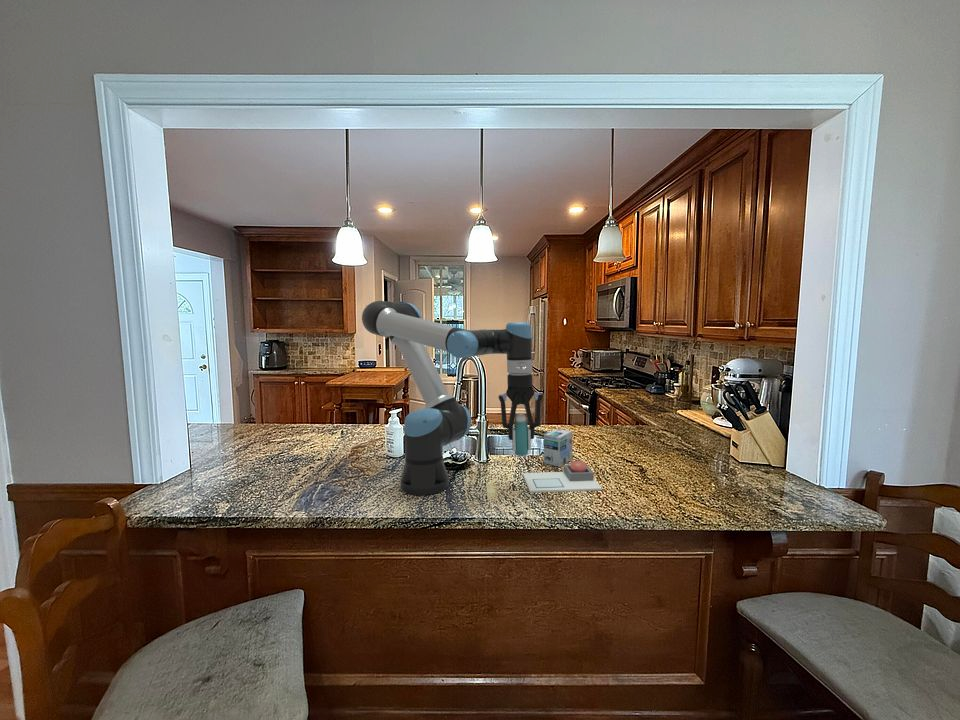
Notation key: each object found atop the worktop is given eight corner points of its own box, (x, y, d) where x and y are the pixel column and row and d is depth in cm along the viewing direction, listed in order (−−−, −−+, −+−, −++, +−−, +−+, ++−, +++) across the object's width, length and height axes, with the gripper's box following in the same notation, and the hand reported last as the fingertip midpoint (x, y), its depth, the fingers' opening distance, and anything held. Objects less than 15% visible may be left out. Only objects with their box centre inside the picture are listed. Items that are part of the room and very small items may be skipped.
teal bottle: (515, 455, 119) (514, 416, 118) (514, 451, 123) (513, 413, 122) (529, 455, 119) (528, 416, 118) (527, 451, 123) (526, 413, 122)
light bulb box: (560, 467, 139) (560, 437, 138) (543, 463, 143) (543, 434, 142) (572, 459, 147) (573, 430, 146) (556, 455, 151) (556, 427, 150)
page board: (530, 492, 118) (530, 483, 118) (522, 474, 132) (522, 466, 132) (602, 490, 120) (602, 480, 119) (587, 472, 133) (587, 464, 133)
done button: (572, 475, 126) (572, 466, 126) (568, 469, 131) (568, 461, 131) (588, 475, 127) (588, 465, 126) (583, 469, 132) (583, 460, 131)
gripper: (492, 376, 115) (494, 454, 117) (550, 374, 116) (551, 452, 118) (490, 373, 123) (492, 447, 125) (545, 371, 123) (546, 444, 125)
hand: (521, 449), depth 121 cm, fingers closed on teal bottle, 4 cm apart
